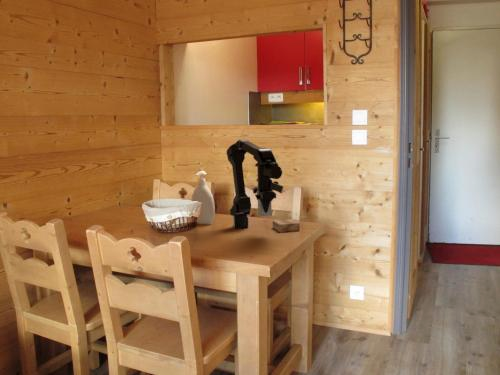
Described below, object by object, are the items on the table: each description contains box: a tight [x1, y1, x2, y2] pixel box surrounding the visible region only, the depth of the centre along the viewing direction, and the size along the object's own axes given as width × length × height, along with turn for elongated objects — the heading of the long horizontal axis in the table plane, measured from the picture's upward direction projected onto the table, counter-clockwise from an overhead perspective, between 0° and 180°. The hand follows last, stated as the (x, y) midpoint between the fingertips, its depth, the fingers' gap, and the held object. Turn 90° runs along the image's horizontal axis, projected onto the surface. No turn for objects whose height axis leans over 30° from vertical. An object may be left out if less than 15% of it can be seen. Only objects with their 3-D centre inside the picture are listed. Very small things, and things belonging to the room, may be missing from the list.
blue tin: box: [257, 199, 272, 217], centre depth 223 cm, size 5×5×7 cm
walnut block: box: [272, 218, 301, 233], centre depth 238 cm, size 10×10×4 cm
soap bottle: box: [191, 170, 216, 225], centre depth 252 cm, size 14×8×27 cm, turn 56°
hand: (264, 211), depth 224 cm, fingers closed on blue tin, 5 cm apart
